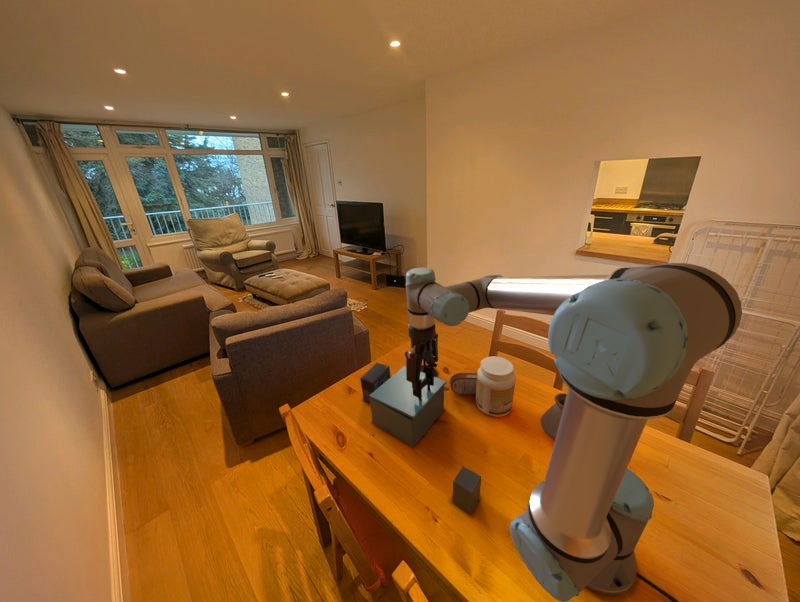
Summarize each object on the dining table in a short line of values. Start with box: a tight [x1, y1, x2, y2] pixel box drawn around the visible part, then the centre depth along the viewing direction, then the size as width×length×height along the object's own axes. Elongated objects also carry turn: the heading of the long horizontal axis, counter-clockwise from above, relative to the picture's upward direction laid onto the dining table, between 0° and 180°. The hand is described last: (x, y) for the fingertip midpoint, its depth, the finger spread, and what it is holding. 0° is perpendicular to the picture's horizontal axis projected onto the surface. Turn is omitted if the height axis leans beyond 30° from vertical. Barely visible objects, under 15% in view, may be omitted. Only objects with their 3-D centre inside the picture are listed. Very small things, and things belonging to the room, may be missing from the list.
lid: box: [369, 365, 447, 419], centre depth 94 cm, size 17×19×6 cm
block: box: [452, 465, 482, 516], centre depth 72 cm, size 5×5×8 cm
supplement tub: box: [475, 355, 516, 418], centre depth 99 cm, size 12×12×17 cm
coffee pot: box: [539, 392, 567, 441], centre depth 85 cm, size 21×12×15 cm, turn 61°
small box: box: [359, 362, 392, 404], centre depth 108 cm, size 11×6×10 cm, turn 149°
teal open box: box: [369, 385, 445, 448], centre depth 97 cm, size 17×19×11 cm
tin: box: [449, 372, 477, 396], centre depth 106 cm, size 15×3×8 cm, turn 85°
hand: (423, 389), depth 90 cm, fingers closed on lid, 6 cm apart
